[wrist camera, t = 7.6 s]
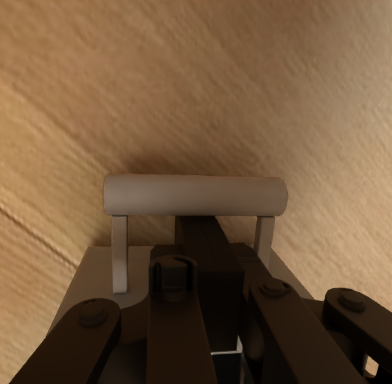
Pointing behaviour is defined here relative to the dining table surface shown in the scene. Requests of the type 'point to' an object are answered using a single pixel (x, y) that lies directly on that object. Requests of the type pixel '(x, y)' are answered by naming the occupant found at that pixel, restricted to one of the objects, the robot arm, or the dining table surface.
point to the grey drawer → (176, 206)
